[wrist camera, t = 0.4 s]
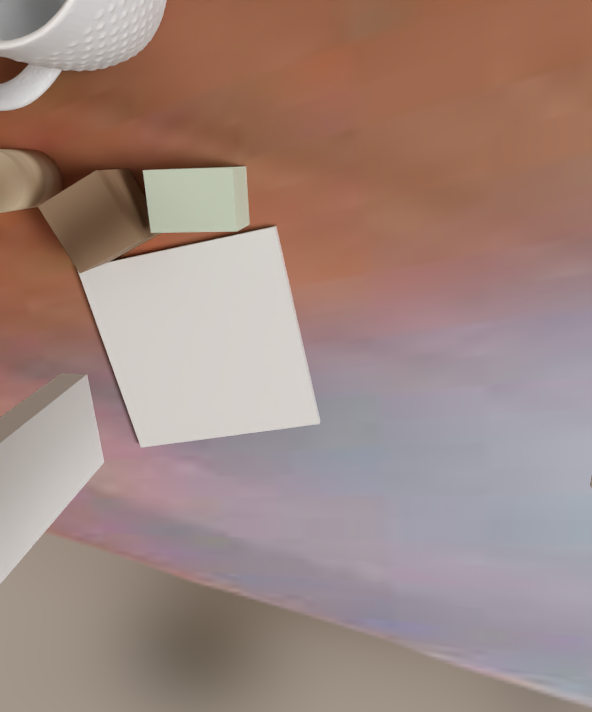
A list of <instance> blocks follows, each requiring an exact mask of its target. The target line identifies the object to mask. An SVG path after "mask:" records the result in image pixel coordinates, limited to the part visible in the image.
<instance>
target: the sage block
mask: <svg viewBox="0 0 592 712" xmlns="http://www.w3.org/2000/svg"><path fill="white" fill-rule="evenodd" d="M143 176H144V184H145V191H146V199H147V207H148V215H149V223H150V230H151V233H171V232H234V231H239V230H241V229H242V228H244V227H246V226H248V225H250V222H249V206H248V190H247V174H246V166H240V167H209V168H179V169H156V170H143Z"/></svg>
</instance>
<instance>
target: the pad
mask: <svg viewBox="0 0 592 712" xmlns="http://www.w3.org/2000/svg"><path fill="white" fill-rule="evenodd" d="M78 273H79V272H78ZM79 276H80V279H81V281H82V284H83V287H84V290H85V293H86V295H87V298H88V301H89V304H90V307H91V309H92V312H93V315H94V318H95V320H96V323H97V326H98V329H99V332H100V334H101V337H102V340H103V343H104V346H105V348H106V351H107V354H108V357H109V360H110V362H111V365H112V368H113V371H114V374H115V376H116V379H117V382H118V385H119V388H120V390H121V393H122V396H123V399H124V401H125V404H126V407H127V410H128V413H129V415H130V418H131V421H132V424H133V427H134V429H135V432H136V435H137V438H138V441H139V443H140V446H141V447H148V446H156V445H164V444H171V443H179V442H186V441H194V440H201V439H209V438H216V437H224V436H231V435H239V434H246V433H254V432H261V431H269V430H276V429H284V428H292V427H299V426H307V425H314V424H320V417H319V413H318V408H317V404H316V399H315V395H314V391H313V386H312V382H311V377H310V373H309V368H308V364H307V360H306V355H305V351H304V346H303V342H302V337H301V333H300V329H299V324H298V320H297V315H296V311H295V307H294V302H293V298H292V293H291V289H290V284H289V280H288V276H287V271H286V267H285V262H284V258H283V253H282V249H281V245H280V240H279V236H278V231H277V227H276V226H273V227H268V228H263V229H259V230H254V231H249V232H245V233H240V234H235V235H231V236H226V237H221V238H217V239H212V240H207V241H203V242H198V243H193V244H189V245H184V246H179V247H175V248H170V249H165V250H160V251H156V252H151V253H146V254H142V255H137V256H132V257H128V258H123V259H118V260H114V261H110V262H107V263H105V264H102V265H100V266H97V267H95V268H93V269H90V270H88V271H85V272H83V273H79Z"/></svg>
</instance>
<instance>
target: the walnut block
mask: <svg viewBox="0 0 592 712" xmlns="http://www.w3.org/2000/svg"><path fill="white" fill-rule="evenodd" d="M38 208H39V209H40V211H41V213H42V214H43V216H44V217H45V219H46V221H47V222H48V224H49V225H50V227H51V229H52V230H53V232H54V233H55V235H56V237H57V238H58V240H59V241H60V243H61V245H62V246H63V248H64V249H65V251H66V253H67V254H68V256H69V257H70V259H71V261H72V262H73V264H74V265H75V267H76V269H77V270H78V272H79V273H83V272H85V271H88V270H90V269H93V268H95V267H97V266H100V265H102V264H105V263H107V262H110V261H112V260H114V259H116V258H118V257H120V256H122V255H123V254H125V253H127V252H129V251H131V250H132V249H134V248H136V247H138V246H140V245H142V244H143V243H145V242H147V241H149V240H151V239H152V238H154V237H156V236H158V235H160V234H161V233H151V230H150V223H149V215H148V207H147V199H146V198H145V196H144V194H143V192H142V190H141V189H140V187H139V185H138V183H137V182H136V180H135V178H134V176H133V175H132V173H131V171H130V169H111V170H96V171H94V172H92V173H91V174H89V175H88V176H86V177H84V178H83V179H81V180H79V181H78V182H76V183H75V184H73V185H71V186H70V187H68V188H67V189H65V190H63V191H62V192H60V193H58V194H57V195H55V196H54V197H52V198H50V199H49V200H47V201H46V202H44V203H42V204H41V205H39V206H38Z"/></svg>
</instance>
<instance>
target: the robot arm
mask: <svg viewBox="0 0 592 712" xmlns="http://www.w3.org/2000/svg"><path fill="white" fill-rule="evenodd" d="M103 463H104V459H103V454H102V448H101V443H100V438H99V433H98V428H97V423H96V418H95V413H94V407H93V402H92V397H91V392H90V387H89V382H88V377H87V374H59V375H58V376H57V377H55V378H54V379H53V380H51V381H50V382H48V383H47V384H46V385H44V386H43V387H41V388H40V389H39V390H37V391H36V392H35V393H33V394H32V395H30V396H29V397H28V398H26V399H25V400H23V401H22V402H21V403H19V404H18V405H17V406H15V407H14V408H12V409H11V410H10V411H8V412H7V413H5V414H4V415H3V416H1V417H0V584H1V583H2V581H3V580H4V579H5V578H6V577H7V575H8V574H9V573H10V572H11V571H12V570H13V568H14V567H15V566H16V565H17V564H18V562H19V561H20V560H21V559H22V558H23V557H24V556H25V554H26V553H27V552H28V551H29V549H30V548H31V547H32V546H33V545H34V543H36V541H37V540H38V539H39V538H40V537H41V536H42V534H43V533H44V532H45V531H46V530H47V529H48V527H49V526H50V525H51V524H52V523H53V522H54V520H55V519H56V518H57V517H58V516H59V515H60V513H61V512H62V511H63V510H64V509H65V507H66V506H67V505H68V504H69V503H70V502H71V500H72V499H73V498H74V497H75V496H76V495H77V493H78V492H79V491H80V490H81V489H82V488H83V486H84V485H85V484H86V483H87V482H88V481H89V479H90V478H91V477H92V476H93V475H94V473H95V472H96V471H97V470H98V469H99V468H100V466H101V465H102V464H103ZM590 486H591V487H592V477H591V482H590Z"/></svg>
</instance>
